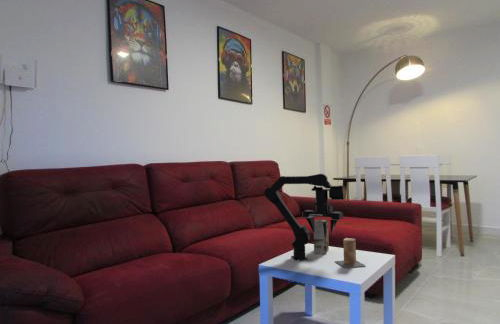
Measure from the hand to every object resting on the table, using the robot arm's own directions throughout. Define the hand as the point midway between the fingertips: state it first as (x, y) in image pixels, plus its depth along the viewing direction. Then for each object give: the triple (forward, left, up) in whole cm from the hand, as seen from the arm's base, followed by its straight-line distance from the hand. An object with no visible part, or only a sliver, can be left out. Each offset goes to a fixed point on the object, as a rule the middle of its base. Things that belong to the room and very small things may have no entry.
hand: (322, 232), depth 170 cm
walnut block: (+10, +9, -13) cm, 18 cm away
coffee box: (-14, +5, -13) cm, 20 cm away
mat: (+10, +9, -13) cm, 19 cm away
